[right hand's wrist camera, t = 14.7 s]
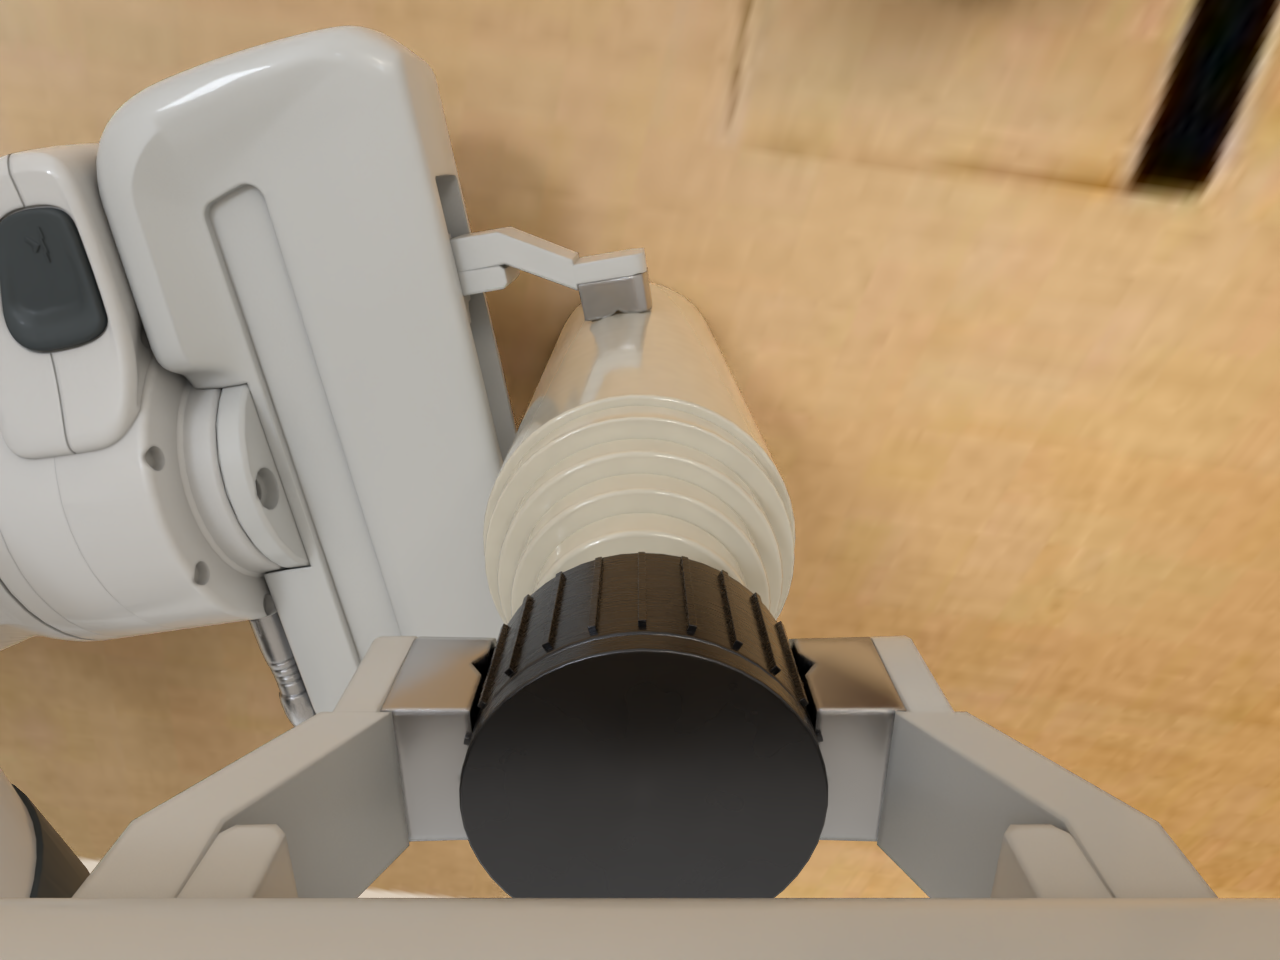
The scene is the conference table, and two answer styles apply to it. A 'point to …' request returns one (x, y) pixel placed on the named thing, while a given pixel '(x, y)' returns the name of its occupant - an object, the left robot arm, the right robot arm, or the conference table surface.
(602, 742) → the cap
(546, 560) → the bottle
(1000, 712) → the conference table surface
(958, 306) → the conference table surface
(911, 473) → the conference table surface
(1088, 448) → the conference table surface
